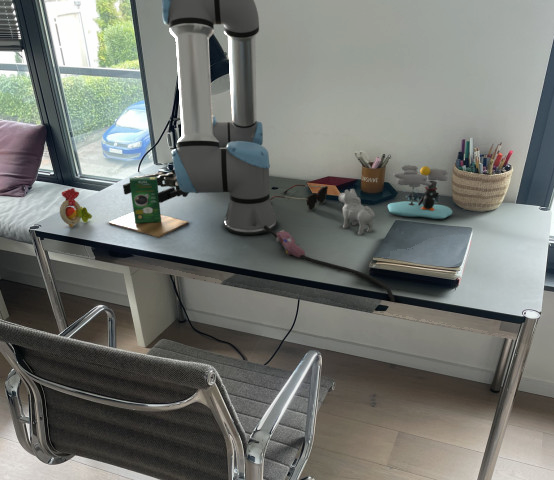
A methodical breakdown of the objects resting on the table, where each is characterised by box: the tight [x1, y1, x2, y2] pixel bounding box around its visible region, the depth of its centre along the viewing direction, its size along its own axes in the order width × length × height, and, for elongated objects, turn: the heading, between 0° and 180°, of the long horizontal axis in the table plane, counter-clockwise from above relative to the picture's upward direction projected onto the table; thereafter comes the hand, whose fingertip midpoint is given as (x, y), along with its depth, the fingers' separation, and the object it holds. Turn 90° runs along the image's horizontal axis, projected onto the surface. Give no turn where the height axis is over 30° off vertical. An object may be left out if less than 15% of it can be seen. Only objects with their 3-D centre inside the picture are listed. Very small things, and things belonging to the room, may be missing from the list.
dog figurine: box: [338, 188, 375, 236], centre depth 164 cm, size 5×13×11 cm, turn 38°
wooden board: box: [109, 211, 189, 238], centre depth 170 cm, size 20×13×1 cm, turn 57°
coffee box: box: [129, 177, 162, 224], centre depth 166 cm, size 8×3×13 cm, turn 101°
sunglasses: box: [270, 184, 329, 211], centre depth 184 cm, size 14×16×5 cm
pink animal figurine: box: [275, 229, 306, 259], centre depth 151 cm, size 10×5×7 cm, turn 17°
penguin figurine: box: [387, 164, 453, 220], centre depth 171 cm, size 20×11×15 cm, turn 72°
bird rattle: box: [59, 187, 93, 228], centre depth 167 cm, size 6×11×9 cm
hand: (141, 193), depth 163 cm, fingers open, 13 cm apart
